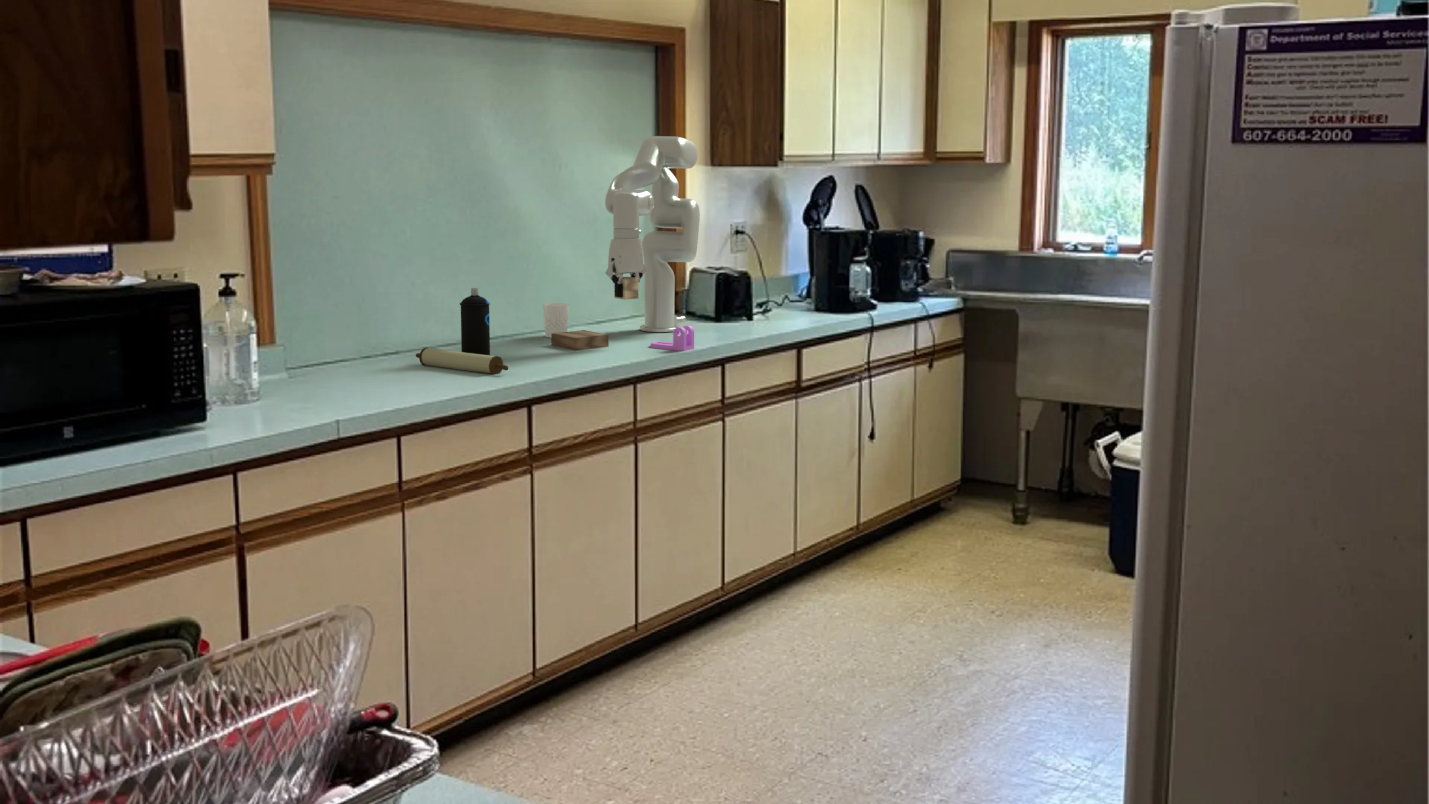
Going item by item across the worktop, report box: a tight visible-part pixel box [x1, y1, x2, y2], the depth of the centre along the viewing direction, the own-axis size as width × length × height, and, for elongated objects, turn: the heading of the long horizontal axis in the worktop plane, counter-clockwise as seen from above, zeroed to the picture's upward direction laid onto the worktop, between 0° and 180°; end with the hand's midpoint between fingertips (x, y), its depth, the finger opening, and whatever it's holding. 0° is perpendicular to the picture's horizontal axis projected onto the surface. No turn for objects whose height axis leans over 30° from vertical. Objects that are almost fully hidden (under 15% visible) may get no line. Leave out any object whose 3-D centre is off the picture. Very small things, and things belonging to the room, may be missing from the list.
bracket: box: [649, 325, 695, 352], centre depth 404 cm, size 13×6×7 cm, turn 59°
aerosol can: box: [459, 287, 491, 356], centre depth 375 cm, size 8×8×20 cm
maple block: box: [613, 276, 639, 301], centre depth 404 cm, size 5×5×6 cm
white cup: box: [542, 302, 570, 339], centre depth 423 cm, size 8×8×10 cm
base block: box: [550, 329, 610, 351], centre depth 406 cm, size 12×12×4 cm
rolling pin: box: [415, 347, 509, 376], centre depth 362 cm, size 32×6×5 cm, turn 58°
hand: (626, 295), depth 405 cm, fingers closed on maple block, 5 cm apart
